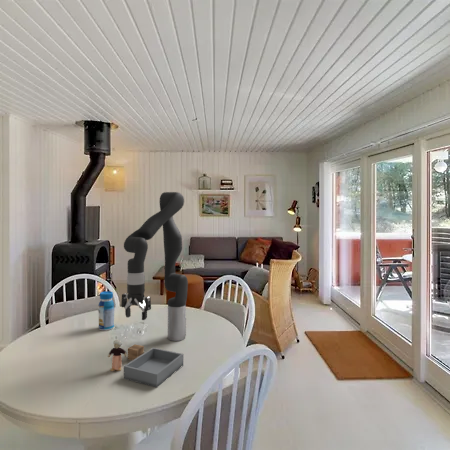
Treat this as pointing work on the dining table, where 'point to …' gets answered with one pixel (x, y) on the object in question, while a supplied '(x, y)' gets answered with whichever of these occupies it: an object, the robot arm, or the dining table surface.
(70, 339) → the dining table surface
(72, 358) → the dining table surface
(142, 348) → the walnut block
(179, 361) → the tote
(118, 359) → the grandmother figurine
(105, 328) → the blue labelled canister
